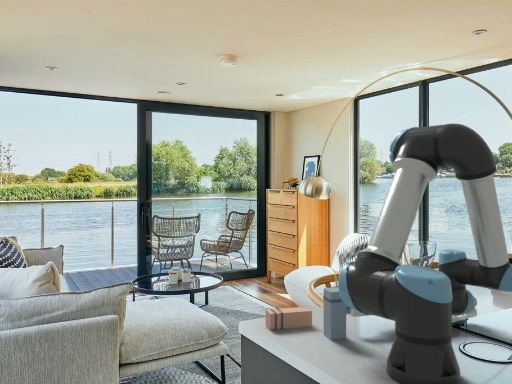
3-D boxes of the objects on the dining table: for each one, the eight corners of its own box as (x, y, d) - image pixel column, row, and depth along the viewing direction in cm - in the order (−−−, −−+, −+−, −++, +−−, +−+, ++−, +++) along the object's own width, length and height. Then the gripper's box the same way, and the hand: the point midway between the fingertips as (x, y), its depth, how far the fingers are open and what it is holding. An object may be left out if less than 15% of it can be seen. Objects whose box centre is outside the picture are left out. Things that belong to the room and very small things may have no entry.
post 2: (338, 332, 123) (338, 287, 123) (346, 338, 119) (346, 291, 118) (323, 334, 122) (323, 288, 122) (330, 340, 117) (330, 292, 117)
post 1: (306, 306, 133) (265, 309, 130) (312, 310, 129) (270, 313, 125) (305, 321, 133) (265, 325, 130) (312, 326, 129) (270, 330, 125)
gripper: (438, 324, 122) (363, 332, 116) (410, 311, 135) (341, 317, 128) (439, 297, 122) (363, 304, 116) (410, 287, 135) (341, 292, 128)
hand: (352, 311), depth 122 cm, fingers closed
